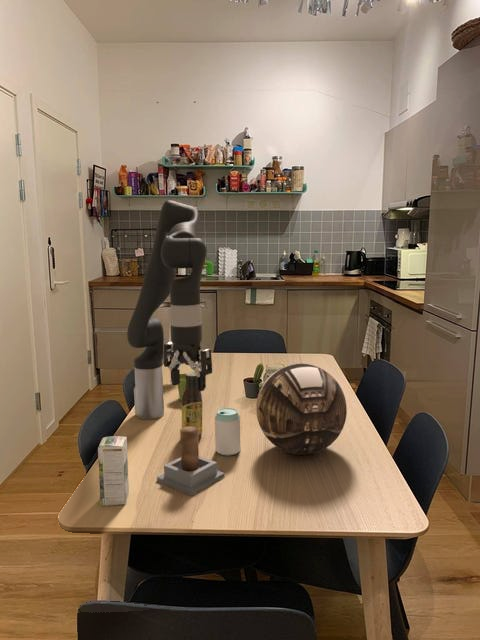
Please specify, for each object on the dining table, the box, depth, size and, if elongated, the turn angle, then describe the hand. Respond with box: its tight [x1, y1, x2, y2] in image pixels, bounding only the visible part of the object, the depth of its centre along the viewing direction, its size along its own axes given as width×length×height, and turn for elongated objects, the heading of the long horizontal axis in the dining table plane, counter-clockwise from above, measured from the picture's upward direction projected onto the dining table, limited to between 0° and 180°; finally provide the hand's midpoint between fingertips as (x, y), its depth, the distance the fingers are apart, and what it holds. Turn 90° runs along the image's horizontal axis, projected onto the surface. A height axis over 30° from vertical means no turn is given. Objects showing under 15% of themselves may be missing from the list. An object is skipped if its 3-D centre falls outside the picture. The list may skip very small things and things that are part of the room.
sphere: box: [255, 363, 348, 456], centre depth 141 cm, size 25×25×25 cm
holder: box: [156, 455, 225, 497], centre depth 127 cm, size 12×12×4 cm
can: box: [214, 407, 241, 457], centre depth 142 cm, size 7×7×12 cm
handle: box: [179, 427, 200, 473], centre depth 126 cm, size 5×5×12 cm
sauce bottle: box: [181, 372, 203, 440], centre depth 152 cm, size 6×6×20 cm
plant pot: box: [176, 372, 188, 401], centre depth 188 cm, size 9×9×9 cm
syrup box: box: [97, 435, 130, 507], centre depth 117 cm, size 6×6×14 cm
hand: (188, 387), depth 123 cm, fingers open, 8 cm apart
